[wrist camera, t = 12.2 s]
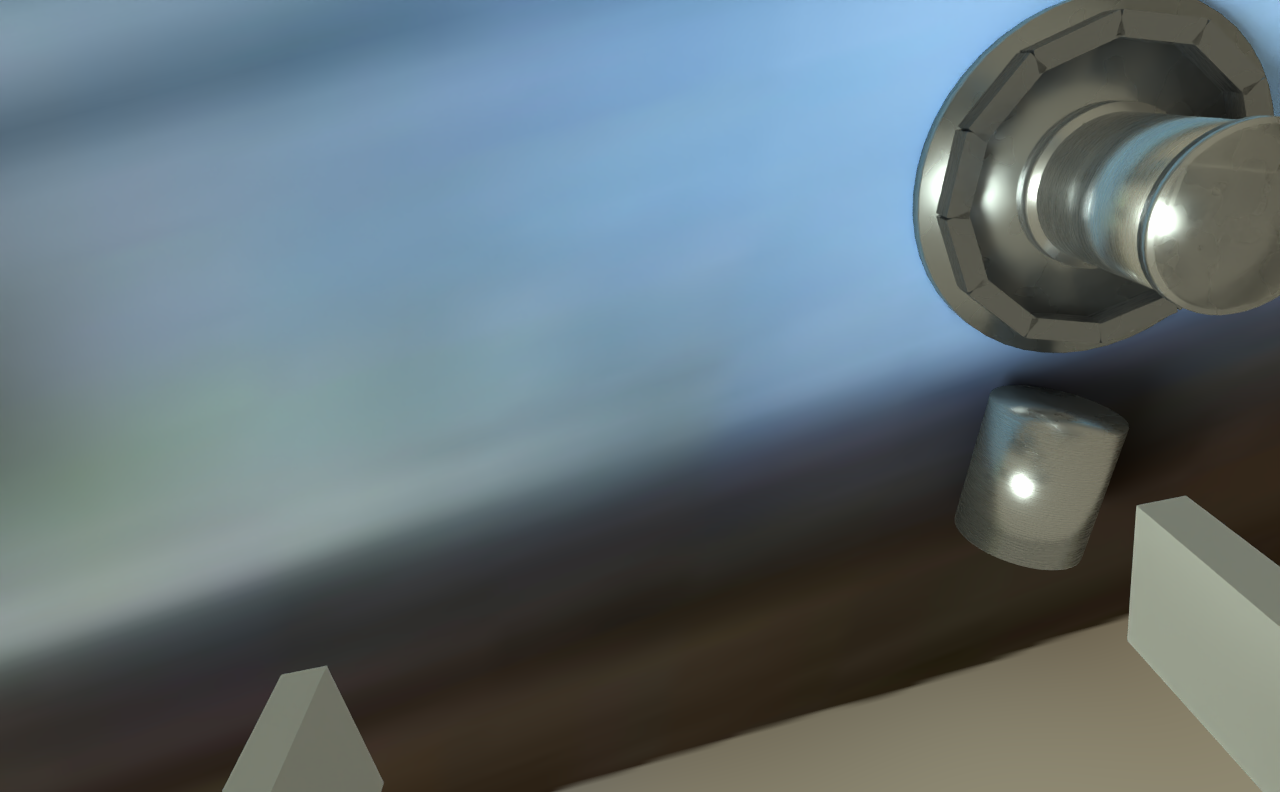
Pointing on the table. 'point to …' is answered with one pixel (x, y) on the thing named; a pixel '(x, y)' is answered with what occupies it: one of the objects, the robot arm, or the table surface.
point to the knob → (1160, 202)
